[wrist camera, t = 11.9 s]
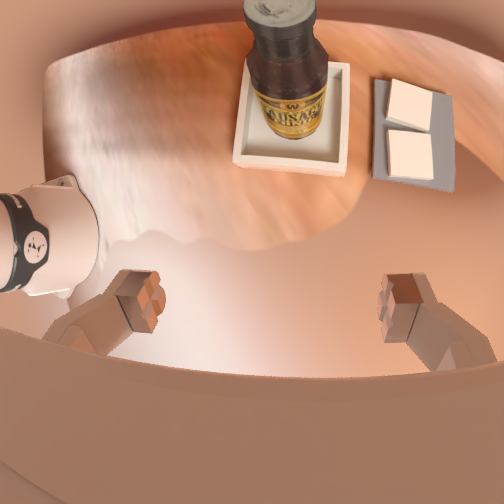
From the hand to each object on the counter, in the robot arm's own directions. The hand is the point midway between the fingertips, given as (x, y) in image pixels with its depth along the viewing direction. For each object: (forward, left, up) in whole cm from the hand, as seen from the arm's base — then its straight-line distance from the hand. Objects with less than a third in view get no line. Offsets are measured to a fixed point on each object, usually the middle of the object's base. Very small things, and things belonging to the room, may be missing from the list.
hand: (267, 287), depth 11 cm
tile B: (+11, +17, -23) cm, 31 cm away
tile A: (+11, +11, -23) cm, 27 cm away
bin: (-2, +14, -24) cm, 28 cm away
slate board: (+12, +14, -24) cm, 30 cm away
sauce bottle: (-2, +14, -23) cm, 27 cm away
